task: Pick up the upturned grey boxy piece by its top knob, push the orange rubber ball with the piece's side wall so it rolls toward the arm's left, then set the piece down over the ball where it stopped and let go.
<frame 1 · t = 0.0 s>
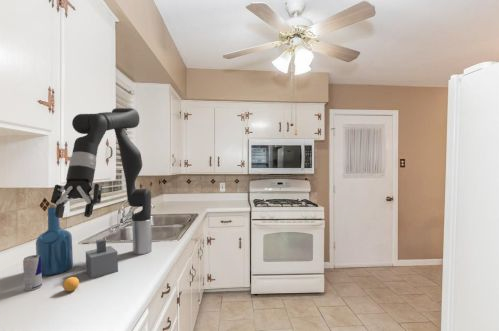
hand: (73, 217, 83), 31 cm above the worktop, tool tilted 20°, fingers open, 8 cm apart
energy drink: (33, 288, 103), on the worktop
grey boxy piece: (102, 271, 117), on the worktop
wine bottle: (55, 270, 119), on the worktop
ball: (71, 284, 101), on the worktop
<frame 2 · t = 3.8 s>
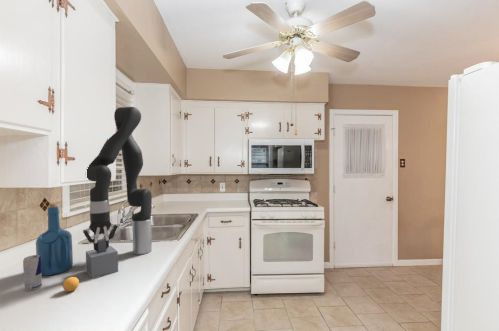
hand: (101, 249, 117), 10 cm above the worktop, tool pointing down, fingers closed on grey boxy piece, 3 cm apart
grey boxy piece: (102, 271, 118), on the worktop, touching gripper
everything else where it was.
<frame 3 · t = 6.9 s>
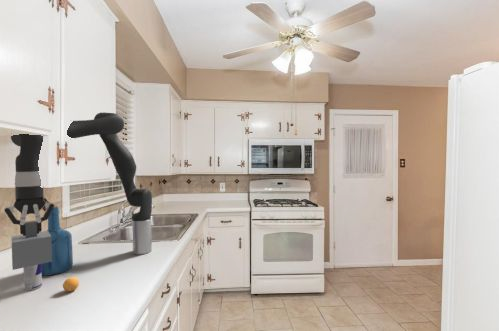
hand: (31, 234, 92), 24 cm above the worktop, tool pointing down, fingers closed on grey boxy piece, 3 cm apart
grey boxy piece: (32, 261, 93), point 14 cm above the worktop, touching gripper
everything else where it was.
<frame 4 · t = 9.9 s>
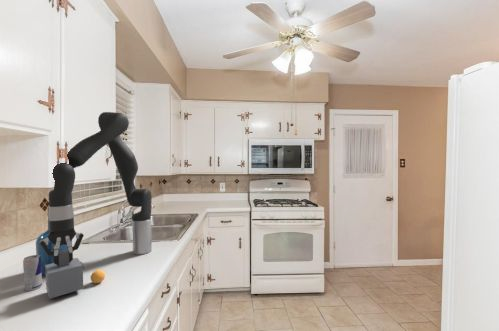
hand: (63, 263, 99), 11 cm above the worktop, tool pointing down, fingers closed on grey boxy piece, 3 cm apart
grey boxy piece: (64, 288, 99), point 2 cm above the worktop, touching gripper
ball: (97, 276, 107), on the worktop
everything else where it was.
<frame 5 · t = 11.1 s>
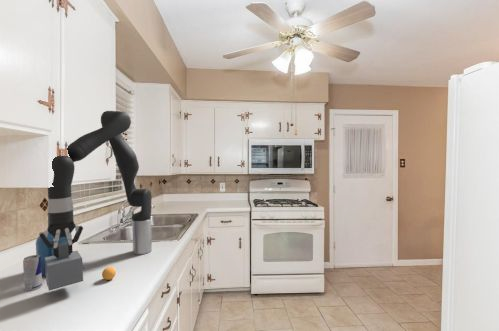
hand: (63, 255, 99), 14 cm above the worktop, tool pointing down, fingers closed on grey boxy piece, 3 cm apart
grey boxy piece: (64, 280, 99), point 4 cm above the worktop, touching gripper
ball: (109, 273, 109), on the worktop
everything else where it was.
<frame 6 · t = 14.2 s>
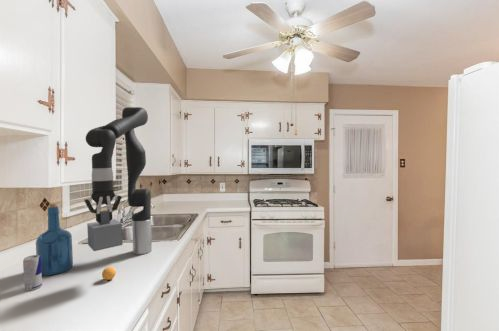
hand: (104, 221, 108), 24 cm above the worktop, tool pointing down, fingers closed on grey boxy piece, 3 cm apart
grey boxy piece: (105, 244, 108), point 15 cm above the worktop, touching gripper
everything else where it was.
when the fingers open (10 cm above the worktop, at t = 17.2 s): grey boxy piece stays where it is, on the worktop.
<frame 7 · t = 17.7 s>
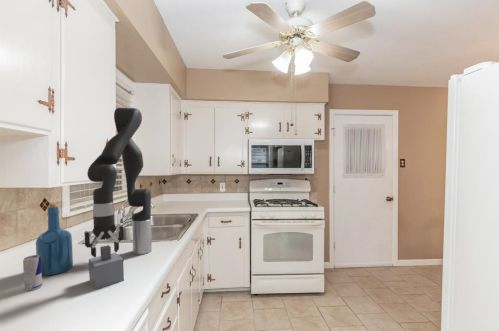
hand: (105, 253, 108), 11 cm above the worktop, tool pointing down, fingers open, 7 cm apart
grey boxy piece: (106, 280, 109), on the worktop
everything else where it was.
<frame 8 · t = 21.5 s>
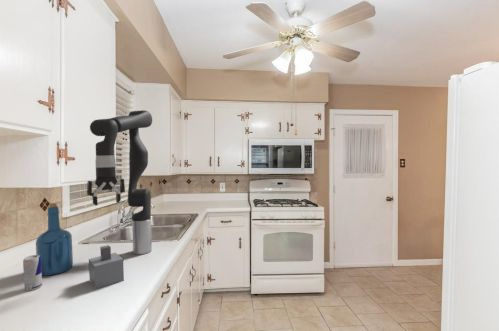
hand: (107, 203, 115), 30 cm above the worktop, tool pointing down, fingers open, 8 cm apart
nothing on the worktop moved.
at the end: ball 1.0 cm from the grey boxy piece (horizontally); grey boxy piece on the worktop; ball moved 13.1 cm from its start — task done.
